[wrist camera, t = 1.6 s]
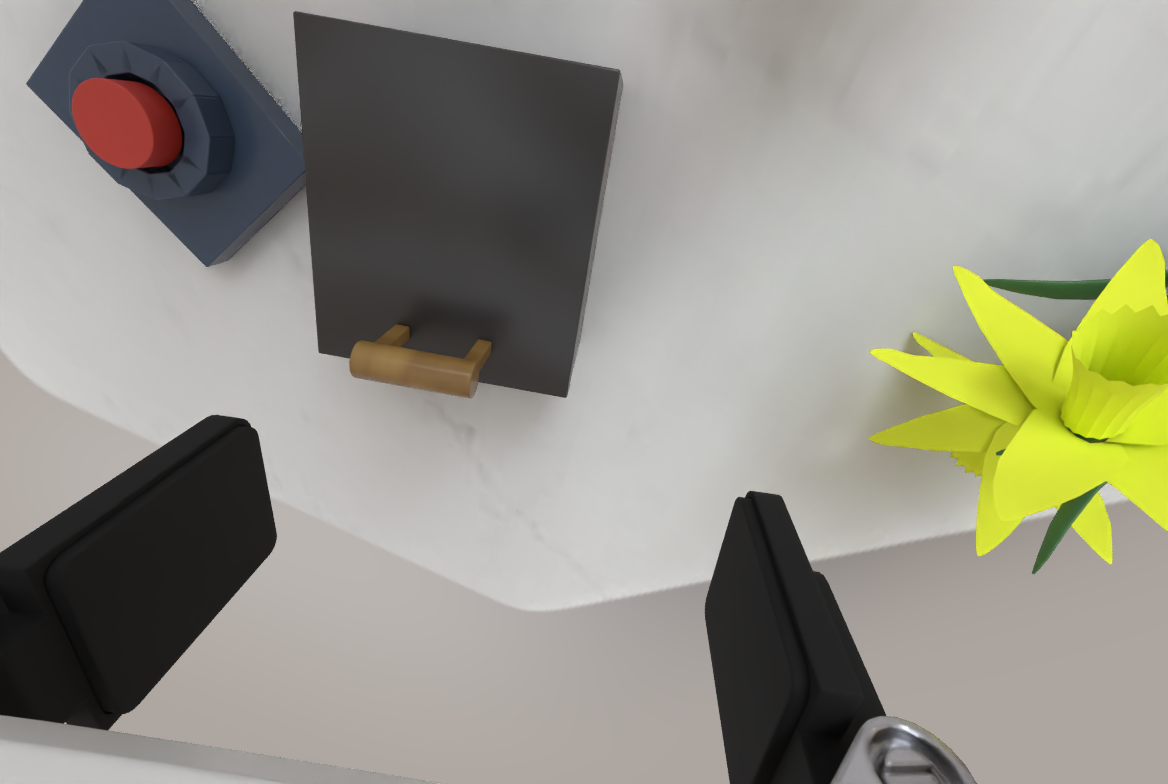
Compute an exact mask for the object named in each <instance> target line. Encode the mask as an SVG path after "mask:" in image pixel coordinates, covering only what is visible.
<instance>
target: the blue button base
mask: <svg viewBox="0 0 1168 784" xmlns="http://www.w3.org/2000/svg"><path fill="white" fill-rule="evenodd" d="M92 78H105V79H115V80H126V81H136V82H139V83H142V84H145V85H147V86H149V87H151V88H152V89H154V90H155V91H157V92H158V93H159V94H160V95H161V96H162V97H163V98H164V99H165V100H166V101H167V102H168V103H169V104H170V106H171V107H172V109H173V110H174V112H175V114H176V116H177V118H178V120H179V123H180V126H181V130H182V148H181V151H180V153H179V155H178V157H177V158H176V159H175V160H174V161H173V162H172V163H170V164H168V165H166V166H160V167H148V168H135V169H125V168H120V167H117V166H114V165H112V164H110V163H108V162H106V161H105V160H103V159H101V158H100V157H99V156H98V155H96V154H95V153H94V152H93V151H92V150H91V149H90V148H89V146H88V145H87V144H86V143H85V141H84V140H83V138H82V137H81V135H80V133H79V131H78V129H77V127H76V124H75V122H74V118H73V113H72V99H73V95H74V92H75V90H76V88H77V87H78V86H79V85H80V84H81V83H82V82H84V81H86V80H88V79H92ZM26 84H27V85H28V87H29V88H30V89H31V90H32V91H33V92H34V93H35V94H36V95H37V96H38V97H39V98H40V99H41V100H42V101H43V102H44V103H45V104H46V105H47V106H48V107H49V108H50V109H51V110H52V111H53V112H54V113H55V114H56V115H57V116H58V117H59V118H60V119H61V120H62V121H63V122H64V123H65V124H66V125H67V126H68V127H69V128H70V129H71V130H72V131H73V132H74V133H75V134H76V135H77V136H78V137H79V138H80V139H81V140H82V141H83V143H84V145H85V147H86V149H87V151H88V152H89V154H90V155H91V157H92V158H93V159H94V160H95V161H96V162H97V163H98V164H99V165H100V166H101V167H102V168H103V169H104V170H105V171H106V172H107V173H108V174H109V175H110V176H111V177H112V178H113V179H114V180H115V181H116V182H117V183H118V184H121V185H122V186H125V187H127V188H129V189H130V190H131V191H132V192H133V193H134V194H135V195H136V196H137V197H138V198H139V199H140V200H141V201H142V202H143V203H144V204H145V205H146V206H147V207H148V208H149V209H150V210H151V211H152V212H153V213H154V214H155V215H156V216H157V217H158V218H159V219H160V220H161V221H162V222H163V223H164V224H165V225H166V226H167V228H168V229H169V230H170V231H171V232H172V233H173V234H174V235H175V236H176V237H177V238H178V239H179V240H180V241H181V242H182V243H183V244H184V245H185V246H186V247H187V248H188V249H189V250H190V251H191V252H192V253H193V254H194V255H195V256H196V257H197V258H198V259H199V260H200V261H201V262H202V263H203V264H204V265H205V266H206V267H210V266H213V265H216V264H219V263H222V262H225V261H228V260H229V259H230V258H231V257H232V256H233V255H234V254H235V253H236V252H237V251H238V250H239V249H240V248H241V247H242V246H243V245H244V244H245V243H246V242H247V241H248V240H249V239H250V238H251V237H252V236H253V235H254V234H255V233H256V232H258V231H259V230H260V229H261V228H262V227H263V226H264V225H265V224H266V223H267V222H268V221H269V220H270V219H271V218H272V217H273V216H274V215H275V214H276V213H277V212H278V211H279V210H280V209H281V208H282V207H283V206H284V205H285V204H286V203H287V202H288V201H289V200H290V199H291V198H293V197H294V196H295V195H296V194H297V193H298V192H299V191H300V190H301V189H302V188H303V187H304V186H305V185H306V176H305V163H304V149H303V136H302V133H301V132H300V131H299V130H298V129H297V127H296V126H295V125H294V124H293V123H292V121H291V120H290V119H289V118H288V117H287V115H286V114H285V113H284V112H283V111H282V109H281V108H280V107H279V106H278V105H277V103H276V102H275V101H274V100H273V99H272V97H271V96H270V95H269V94H268V93H267V91H266V90H265V89H264V88H263V87H262V85H261V84H260V83H259V82H258V81H257V79H256V78H255V77H254V76H253V75H252V73H251V72H250V71H249V70H248V69H247V67H246V66H245V65H244V64H243V63H242V61H241V60H240V59H239V58H238V57H237V55H236V54H235V53H234V52H233V51H232V49H231V48H230V47H229V46H228V45H227V43H226V42H225V41H224V40H223V39H222V37H221V36H220V35H219V34H218V33H217V32H216V30H215V29H214V28H213V27H212V26H211V24H210V23H209V22H208V21H207V20H206V18H205V17H204V16H203V15H202V14H201V12H200V11H199V10H198V9H197V8H196V6H195V5H194V4H193V3H192V2H191V0H83V2H82V3H81V5H80V6H79V8H78V9H77V10H76V12H75V13H74V15H73V16H72V18H71V19H70V21H69V22H68V24H67V25H66V26H65V28H64V29H63V31H62V32H61V34H60V35H59V37H58V38H57V40H56V41H55V42H54V44H53V45H52V47H51V48H50V50H49V51H48V53H47V54H46V56H45V57H44V58H43V60H42V61H41V63H40V64H39V66H38V67H37V69H36V70H35V71H34V73H33V74H32V76H31V77H30V79H29V80H28V82H27V83H26Z"/></svg>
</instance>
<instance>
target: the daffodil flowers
mask: <svg viewBox="0 0 1168 784" xmlns="http://www.w3.org/2000/svg"><path fill="white" fill-rule="evenodd" d="M953 271H954V274H955V276H956V279H957V281H958V283H959V285H960V288H961V290H962V292H963V295H964V297H965V299H966V302H967V304H968V306H969V308H970V310H971V311H972V313H973V315H974V317H975V319H976V321H977V323H978V325H979V327H980V329H981V330H982V332H983V334H984V335H985V337H986V338H987V340H988V341H989V343H990V345H991V346H992V348H993V349H994V351H995V352H996V354H997V355H998V357H999V359H1000V360H1001V362H1002V363H1003V365H1004V366H1003V365H995V364H987V363H980V362H973V361H971V360H970V359H968V358H966V357H964V356H962V355H960V354H958V353H956V352H954V351H953V350H951V349H949V348H947V347H945V346H943V345H941V344H938V343H936V342H934V341H932V340H930V339H928V338H926V337H924V336H922V335H920V334H918V333H915V332H913V337H914V338H915V340H916V341H917V343H918V344H920V345H921V346H922V347H924V348H925V349H927V350H928V351H929V352H930V353H931V354H932V356H933V357H928V356H917V355H911V354H907V353H904V352H901V351H897V350H894V349H874V350H870V351H869V352H870V354H872V355H873V356H875V357H876V358H878V359H880V360H881V361H883V362H885V363H887V364H889V365H891V366H893V367H895V368H896V369H898V370H900V371H902V372H903V373H905V374H907V375H909V376H911V377H912V378H914V379H916V380H918V381H920V382H922V383H924V384H926V385H928V386H930V387H931V388H933V389H935V390H937V391H939V392H941V393H943V394H945V395H947V396H949V397H951V398H953V399H956V400H958V401H960V402H963V403H965V404H964V405H960V406H956V407H953V408H949V409H946V410H942V411H938V412H935V413H931V414H928V415H924V416H921V417H918V418H915V419H913V420H910V421H907V422H904V423H901V424H899V425H896V426H894V427H891V428H889V429H886V430H884V431H881V432H879V433H877V434H874V435H873V436H871V437H869V440H871V441H873V442H875V443H878V444H882V445H886V446H899V447H910V448H917V449H925V450H932V451H953V452H952V454H951V456H950V457H953V458H957V459H958V460H957V465H956V466H965V473H967V472H974V473H975V477H977V476H980V475H982V479H981V486H980V492H979V501H978V511H977V525H976V550H977V555H978V556H982V555H984V554H986V553H988V552H989V551H991V550H992V549H993V548H995V547H996V546H997V545H998V544H1000V543H1001V542H1002V541H1003V540H1004V539H1005V538H1006V537H1008V536H1009V535H1010V534H1011V533H1012V532H1013V530H1014V529H1015V528H1016V527H1017V526H1018V525H1019V523H1020V522H1021V521H1022V520H1023V519H1024V517H1025V516H1028V515H1031V514H1034V513H1037V512H1040V511H1044V510H1047V509H1050V508H1053V507H1056V508H1057V510H1058V511H1057V513H1056V515H1055V516H1054V518H1053V520H1052V522H1051V523H1050V525H1049V528H1048V530H1047V533H1046V536H1045V538H1044V541H1043V543H1042V546H1041V548H1040V551H1039V553H1038V556H1037V559H1036V562H1035V565H1034V568H1033V571H1032V573H1033V574H1035V573H1036V572H1037V571H1038V570H1039V569H1040V568H1041V567H1042V565H1043V564H1044V563H1045V562H1046V561H1047V560H1048V558H1049V557H1050V556H1051V554H1052V552H1053V551H1054V550H1055V548H1056V546H1057V545H1058V544H1059V542H1060V541H1061V539H1062V538H1063V536H1064V535H1065V533H1066V532H1067V530H1068V529H1069V528H1070V526H1072V527H1073V528H1074V529H1075V530H1076V532H1077V533H1078V534H1079V535H1080V536H1081V537H1082V538H1083V539H1084V540H1085V541H1086V542H1087V543H1088V544H1089V546H1090V547H1091V548H1092V549H1093V550H1094V551H1095V552H1097V554H1098V555H1100V556H1101V557H1102V558H1103V559H1104V560H1105V561H1106V562H1108V563H1109V564H1112V558H1113V556H1112V531H1111V523H1110V520H1109V517H1108V514H1107V511H1106V508H1105V505H1104V502H1103V499H1102V498H1101V496H1100V494H1099V493H1098V491H1099V490H1100V489H1101V488H1102V487H1103V486H1104V485H1105V484H1106V483H1107V482H1108V483H1109V484H1111V485H1112V486H1114V487H1115V488H1116V489H1118V490H1119V491H1120V492H1121V493H1122V494H1124V495H1125V496H1126V497H1127V498H1128V499H1129V500H1131V501H1132V502H1133V503H1134V504H1135V505H1137V506H1138V507H1139V508H1140V509H1141V510H1143V511H1144V512H1145V513H1146V514H1147V515H1148V516H1150V517H1151V518H1152V519H1153V520H1154V521H1156V522H1157V523H1158V524H1159V525H1160V526H1162V527H1163V528H1164V529H1165V530H1166V531H1167V532H1168V295H1166V288H1167V287H1168V270H1165V259H1164V257H1163V254H1162V251H1161V249H1160V246H1159V245H1158V244H1157V243H1156V242H1155V241H1154V240H1153V239H1149V240H1148V241H1146V242H1145V243H1144V244H1142V245H1141V246H1140V247H1139V248H1138V250H1137V251H1136V252H1135V253H1134V254H1133V255H1132V256H1131V257H1130V258H1129V260H1128V261H1127V262H1126V263H1125V264H1124V265H1123V266H1122V268H1121V269H1120V270H1119V271H1118V272H1117V273H1116V275H1115V276H1114V277H1113V278H1112V279H1105V280H1087V281H1036V280H1007V279H987V280H982V279H981V278H980V277H979V276H978V275H976V274H974V273H972V272H971V271H969V270H967V269H965V268H963V267H959V266H953ZM988 285H989V286H992V287H996V288H1000V289H1004V290H1008V291H1012V292H1016V293H1021V294H1027V295H1033V296H1040V297H1046V298H1052V299H1080V300H1094V299H1096V301H1095V302H1094V303H1093V305H1092V306H1091V308H1090V309H1089V311H1088V313H1087V314H1086V316H1085V317H1084V318H1083V319H1082V322H1081V323H1080V325H1079V326H1078V328H1077V329H1076V331H1072V337H1071V339H1070V340H1069V341H1068V340H1066V339H1065V338H1064V337H1062V336H1061V335H1059V334H1058V333H1056V332H1055V331H1053V330H1052V329H1050V328H1049V327H1048V326H1046V325H1045V324H1043V323H1042V322H1040V321H1039V320H1037V319H1036V318H1034V317H1033V316H1031V315H1030V314H1029V313H1027V312H1026V311H1024V310H1023V309H1021V308H1019V307H1018V306H1016V305H1015V304H1013V303H1011V302H1010V301H1008V300H1007V299H1005V298H1003V297H1002V296H1000V295H999V294H997V293H995V292H994V291H993V290H992V289H991V288H990V287H989V286H988Z"/></svg>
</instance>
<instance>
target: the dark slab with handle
mask: <svg viewBox="0 0 1168 784" xmlns="http://www.w3.org/2000/svg"><path fill="white" fill-rule="evenodd" d="M293 16H294V29H295V43H296V56H297V69H298V83H299V96H300V109H301V123H302V136H303V149H304V163H305V176H306V190H307V203H308V216H309V230H310V243H311V256H312V270H313V283H314V296H315V310H316V323H317V336H318V350H319V353H322V354H328V355H333V356H339V357H344V358H350V372H351V374H352V376H354V377H355V378H361V379H366V380H371V381H377V382H382V383H388V384H393V385H399V386H404V387H410V388H415V389H421V390H426V391H432V392H437V393H443V394H448V395H454V396H459V397H465V398H472V397H473V396H474V394H475V392H476V389H477V385H478V382H482V383H487V384H493V385H498V386H504V387H509V388H515V389H520V390H526V391H531V392H537V393H542V394H548V395H553V396H559V397H564V398H566V397H567V395H568V390H569V386H570V380H571V374H572V368H573V362H574V356H575V350H576V344H577V338H578V332H579V326H580V320H581V314H582V308H583V301H584V295H585V289H586V283H587V277H588V271H589V265H590V259H591V253H592V247H593V241H594V235H595V229H596V223H597V217H598V211H599V205H600V199H601V193H602V187H603V181H604V175H605V169H606V163H607V157H608V151H609V145H610V139H611V133H612V127H613V121H614V115H615V108H616V102H617V96H618V90H619V84H620V78H621V72H620V70H618V69H613V68H607V67H601V66H596V65H590V64H585V63H579V62H574V61H568V60H563V59H557V58H552V57H546V56H541V55H535V54H530V53H524V52H518V51H513V50H507V49H502V48H496V47H491V46H485V45H480V44H474V43H469V42H463V41H458V40H452V39H447V38H441V37H435V36H430V35H424V34H419V33H413V32H408V31H402V30H397V29H391V28H386V27H380V26H375V25H369V24H364V23H358V22H352V21H347V20H341V19H336V18H330V17H325V16H319V15H314V14H308V13H303V12H297V11H295V12H293Z"/></svg>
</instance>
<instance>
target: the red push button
mask: <svg viewBox="0 0 1168 784" xmlns="http://www.w3.org/2000/svg"><path fill="white" fill-rule="evenodd" d="M72 113H73V118H74V122H75V124H76V127H77V129H78V131H79V133H80V135H81V137H82V138H83V140H84V141H85V143H86V144H87V145H88V146H89V148H90V149H91V150H92V151H93V152H94V153H95V154H96V155H98V156H99V157H100V158H101V159H103V160H105V161H106V162H108V163H110V164H112V165H114V166H117V167H120V168H125V169H135V168H148V167H160V166H166V165H168V164H170V163H172V162H173V161H174V160H175V159H176V158H177V157H178V155H179V153H180V151H181V148H182V130H181V126H180V123H179V120H178V118H177V116H176V114H175V112H174V110H173V109H172V107H171V106H170V104H169V103H168V102H167V101H166V100H165V99H164V98H163V97H162V96H161V95H160V94H159V93H158V92H157V91H155V90H154V89H152V88H151V87H149V86H147V85H145V84H142V83H139V82H136V81H126V80H115V79H105V78H92V79H88V80H86V81H84V82H82V83H81V84H80V85H79V86H78V87H77V88H76V90H75V92H74V95H73V99H72Z"/></svg>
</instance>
